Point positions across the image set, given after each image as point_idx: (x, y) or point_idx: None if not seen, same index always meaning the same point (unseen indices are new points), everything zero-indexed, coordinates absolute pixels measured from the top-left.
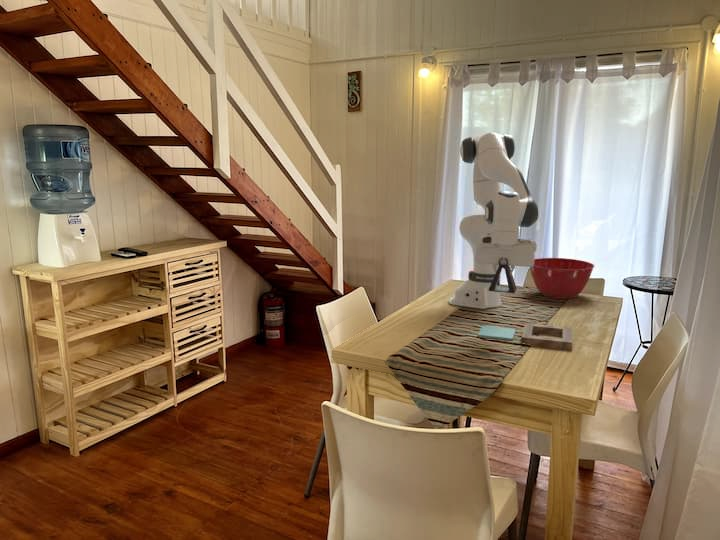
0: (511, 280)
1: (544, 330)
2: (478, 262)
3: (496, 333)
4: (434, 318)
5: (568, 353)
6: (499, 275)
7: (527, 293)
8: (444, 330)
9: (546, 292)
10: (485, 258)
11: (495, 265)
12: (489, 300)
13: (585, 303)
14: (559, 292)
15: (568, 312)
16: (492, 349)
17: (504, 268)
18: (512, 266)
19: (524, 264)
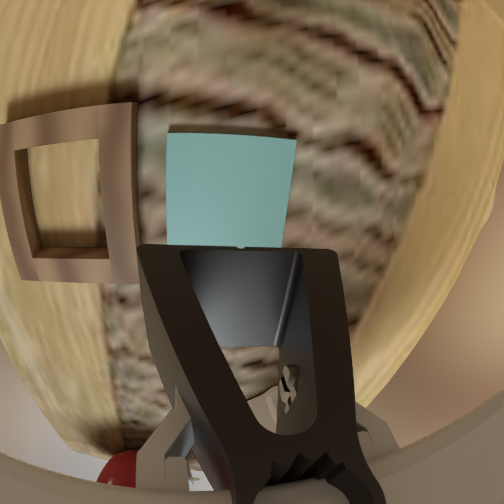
0: (159, 325)
1: (80, 253)
2: (501, 397)
3: (229, 174)
4: (397, 282)
5: (13, 87)
6: (291, 376)
7: (195, 458)
8: (388, 184)
9: None
10: (488, 454)
11: (370, 450)
12: (263, 410)
13: (93, 437)
14: (135, 457)
15: (95, 404)
16: (238, 19)
17: (266, 434)
18: (163, 481)
19: (15, 479)
